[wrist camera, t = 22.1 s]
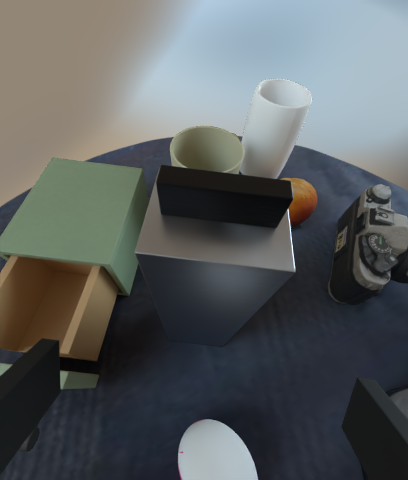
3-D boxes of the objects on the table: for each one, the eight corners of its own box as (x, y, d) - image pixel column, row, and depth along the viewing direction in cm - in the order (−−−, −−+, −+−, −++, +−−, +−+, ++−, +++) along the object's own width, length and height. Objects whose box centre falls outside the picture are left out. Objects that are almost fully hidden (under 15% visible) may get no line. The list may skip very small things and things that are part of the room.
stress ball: (175, 437, 26) (137, 488, 20) (220, 387, 25) (194, 424, 19) (226, 507, 23) (200, 592, 17) (279, 455, 22) (271, 525, 16)
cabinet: (129, 296, 31) (109, 264, 23) (41, 285, 31) (-10, 250, 23) (152, 214, 38) (142, 168, 30) (80, 205, 38) (52, 157, 30)
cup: (268, 154, 47) (297, 75, 35) (287, 184, 43) (327, 106, 31) (228, 160, 46) (244, 79, 33) (244, 192, 41) (268, 112, 29)
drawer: (79, 441, 22) (35, 465, 16) (-28, 428, 22) (-118, 447, 16) (128, 277, 31) (112, 248, 24) (50, 267, 31) (14, 236, 24)
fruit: (285, 246, 34) (285, 194, 30) (253, 227, 41) (250, 182, 37) (327, 228, 37) (332, 177, 33) (290, 212, 43) (291, 169, 39)
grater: (222, 347, 28) (320, 247, 8) (168, 340, 28) (122, 223, 8) (224, 305, 31) (302, 149, 10) (175, 299, 31) (154, 131, 10)
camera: (398, 329, 31) (480, 307, 22) (319, 297, 32) (367, 266, 24) (395, 236, 39) (455, 194, 30) (332, 214, 40) (372, 168, 32)
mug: (238, 232, 37) (258, 173, 27) (174, 234, 36) (170, 174, 26) (228, 181, 43) (242, 117, 32) (173, 182, 42) (169, 116, 31)
